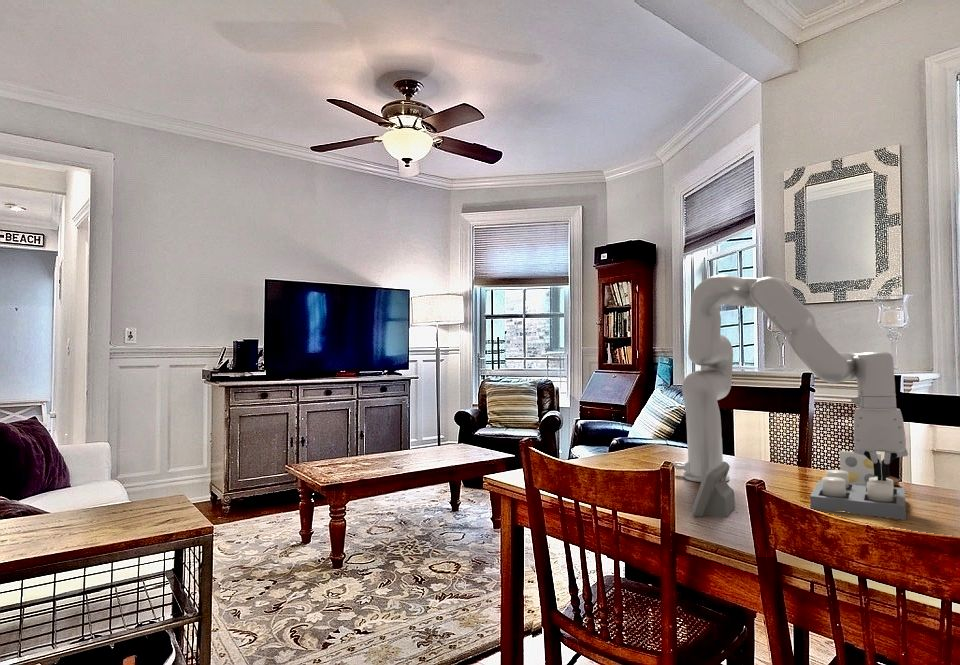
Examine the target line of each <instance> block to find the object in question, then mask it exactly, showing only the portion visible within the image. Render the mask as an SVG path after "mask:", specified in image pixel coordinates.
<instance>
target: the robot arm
mask: <svg viewBox="0 0 960 665" xmlns="http://www.w3.org/2000/svg"><path fill="white" fill-rule="evenodd" d="M723 305H725V306H735V307H748V308H757V309H759V310H760V311H761V312H762V313H763V314H764V315H765V316H766V317H767V318H768V319H769V320H770V321H771V322H772V324H774V325H775V327H776V328H777V330H779V331H780V332H781V334H783V336H784V337H785V339H786V341H787V343H788V344H789V345H790V347H791V348H792V351H794V353H795V355H796V356H797V357H798V358H799V359H800V360H801V361H802V363H803V364H805V366H806V367H807V368H808V369H809V370H810V371H811V372H812V373H813V374H814V375H815V376H816V377H817V378H818V379H820V380H821V381H823V382H825V383H827V384H840V383H844V382H847V381H848V382H849V381H856V383H857V384H856V385H857V396H856V397H851V398H850V402H851V404H855V405H857V406H858V407H856V408H854V415H853V442H854V448H853V452H854V453H856V454H860V455H864V456H866V457H867V458H868V459H870V460H871V461H872V463H873V465H874V476H878V480H883V481H886V477H889V476H890V464H891V462H892V461H893V460H895V459H896V458H904V457H908V455H909V452H908V450H907V443H906V442H907V441H906V440H907V439H906V438H907V437H906V431H905V423H904V418H903V414H902V411H901V409H900V408H897V398H896V396H897V394H896V380H895V366H894V357H893V355H892V353H890V352H887V351H886V352H885V351H868V352H867V351H865V352H860V353H858V352H846V351H837V350H836V349H835V348H834V347H833V345H831V344H830V343H829V342H828V341H827V340H826V338H824V336H823V335H822V334H821V332H820V331H819V329H818V328H817V325H816V320H815V317H814V315H813V313H812V312H811V311H810V310H809V309H808V308H807V307H806V306H805V305H804V304H803V302H802V301H800V300H799V299H798V298H797V297H796V296H795V295H794V289H793V286H792V285H791V284H790V283H789V282H788V281H787V280H785V279H784V278H783V279H782V278H780V277H773V276H763V277H761V278H759V277H758V278H757V277H740V276H734V275H733V276H732V275H729V274H717V275H716V274H715V275H712V276H709V277H708V278H705V279H704V280H702V281H701V282H699V284H698V285H696V287H695V289H694V290H693V292H692V296H691V299H690V309H689V310H690V314H689V315H690V316H689V317H690V320H689V330H688V347H687V348H688V350H687V351H688V352H687V354H688V357H689V360H690V361H691V362H692V363H693V364H695V365H696V366H699V367H700V370H696V371H693V372H691V373H689V374H688V375H686V377H685V378H684V380H683V381H682V385H681V391H682V393H681V394H682V398H683V402H684V409H685V418H686V419H685V423H686V441H687V461H685V462H681V461H675V462H674V465H675V466H674V465H673V466H674V469H676V470H683V471H684V472H683V479H685V480H688V481H690V482H695V483H696V482H697V483H701V482H702V479H703V476H704V474H705V472H707V471H708V470H709V469H711V468H712V467H713V466H715V465H716V464H718V463H719V462H724V458H723V457H724V456H723V437H722V419H721V418H722V417H721V411H720V406H719V403H718V401H719V400H722V399H724V398H726V397H727V396H728V395H729V393H730V390H731V389H732V384H733V383H732V380H733V379H732V378H733V361H734V349H733V345H732V342H730V340H729V339H728V337H726V336H725V335H723V334H721V326H722V316H721V311H720V308H721V306H723ZM878 452H884V454H883V456H884V457H883V459H881V461H882V463H881V462H880V460H879V459H878V457H877V453H878ZM881 468H882V474H881ZM729 480H730V474H727V477H726V480H725V481H726V482H727V481H729Z"/></svg>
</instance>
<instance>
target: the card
mask: <svg viewBox="0 0 960 665" xmlns="http://www.w3.org/2000/svg"><path fill="white" fill-rule="evenodd" d="M876 453H877V457H878V459H879V460H880V462H881V461H882V453H878V452H876ZM881 463H882V462H881ZM839 467H840V469H839V470H842V471H846V472H848V478H849V483H854V484H864V485H867V482H868V481H869V478H871V477H878V476H874V465H873V463H872V461H871V460H870V459H868V458H867V457H866V456H864V455H860V454H856V453H854V451H847V450H839ZM881 474H882V468H881Z"/></svg>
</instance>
